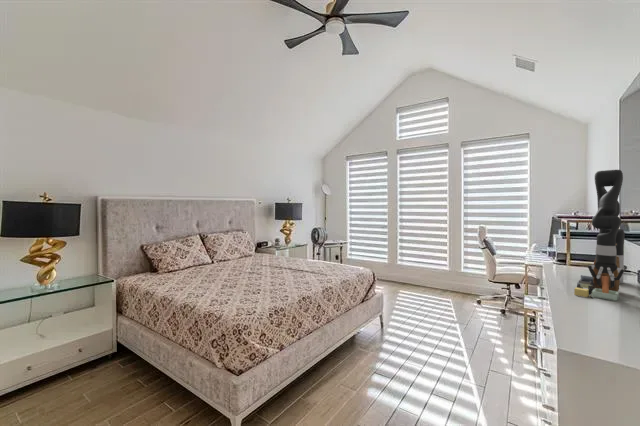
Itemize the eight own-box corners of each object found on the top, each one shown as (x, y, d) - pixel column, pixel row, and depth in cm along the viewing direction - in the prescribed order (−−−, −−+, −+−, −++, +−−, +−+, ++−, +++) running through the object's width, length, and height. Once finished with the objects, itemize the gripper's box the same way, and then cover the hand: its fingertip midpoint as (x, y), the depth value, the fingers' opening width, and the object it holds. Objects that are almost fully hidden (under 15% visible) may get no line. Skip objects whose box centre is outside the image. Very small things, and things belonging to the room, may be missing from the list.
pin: (602, 295, 148) (602, 276, 149) (609, 296, 146) (608, 276, 147) (601, 295, 147) (601, 276, 148) (608, 296, 145) (608, 276, 146)
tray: (595, 293, 153) (595, 287, 153) (619, 297, 146) (619, 291, 146) (591, 296, 148) (591, 291, 148) (616, 301, 140) (616, 295, 140)
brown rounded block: (620, 291, 156) (620, 255, 156) (618, 294, 152) (619, 257, 151) (593, 287, 165) (593, 253, 164) (591, 289, 160) (591, 254, 160)
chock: (576, 293, 154) (576, 287, 153) (588, 296, 150) (588, 289, 149) (574, 295, 151) (574, 288, 151) (586, 297, 147) (587, 290, 147)
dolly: (580, 288, 162) (580, 274, 162) (594, 290, 158) (594, 276, 157) (576, 291, 157) (576, 277, 156) (591, 294, 152) (591, 279, 152)
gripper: (626, 254, 143) (626, 288, 143) (588, 251, 154) (588, 282, 155) (625, 256, 138) (624, 291, 139) (585, 253, 150) (585, 284, 150)
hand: (605, 286), depth 147 cm, fingers open, 4 cm apart
